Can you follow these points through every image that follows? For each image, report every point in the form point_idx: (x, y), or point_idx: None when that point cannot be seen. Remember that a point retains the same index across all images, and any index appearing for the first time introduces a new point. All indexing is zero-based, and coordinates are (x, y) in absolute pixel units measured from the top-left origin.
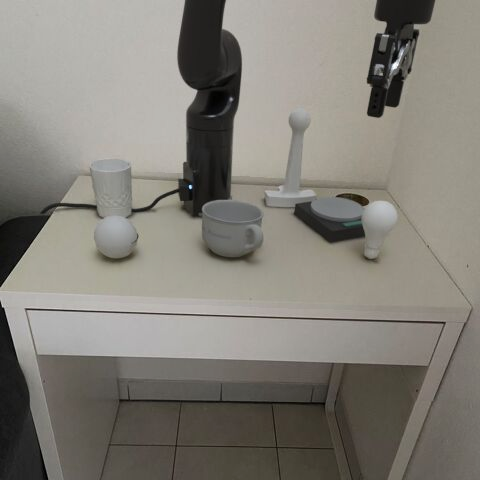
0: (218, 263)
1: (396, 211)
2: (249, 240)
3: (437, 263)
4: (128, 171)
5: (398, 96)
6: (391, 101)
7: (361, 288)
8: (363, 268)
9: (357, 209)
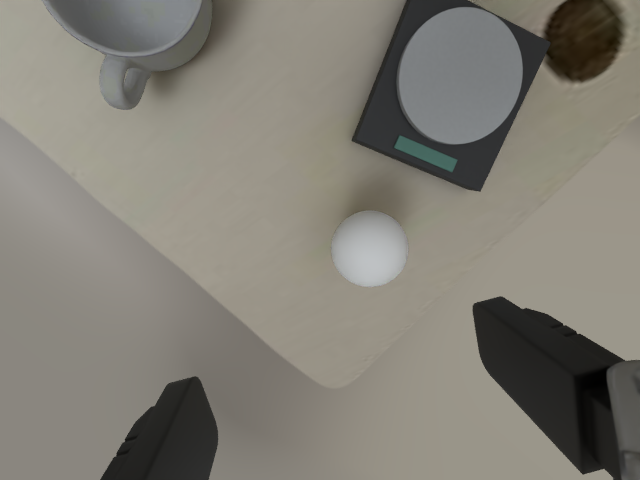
0: None
1: (389, 280)
2: (136, 67)
3: (424, 312)
4: None
5: (515, 395)
6: (491, 346)
7: (253, 275)
8: (312, 241)
9: (482, 119)
